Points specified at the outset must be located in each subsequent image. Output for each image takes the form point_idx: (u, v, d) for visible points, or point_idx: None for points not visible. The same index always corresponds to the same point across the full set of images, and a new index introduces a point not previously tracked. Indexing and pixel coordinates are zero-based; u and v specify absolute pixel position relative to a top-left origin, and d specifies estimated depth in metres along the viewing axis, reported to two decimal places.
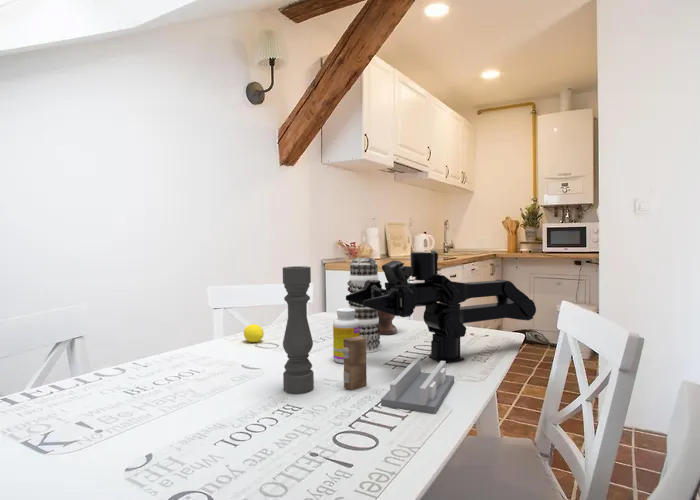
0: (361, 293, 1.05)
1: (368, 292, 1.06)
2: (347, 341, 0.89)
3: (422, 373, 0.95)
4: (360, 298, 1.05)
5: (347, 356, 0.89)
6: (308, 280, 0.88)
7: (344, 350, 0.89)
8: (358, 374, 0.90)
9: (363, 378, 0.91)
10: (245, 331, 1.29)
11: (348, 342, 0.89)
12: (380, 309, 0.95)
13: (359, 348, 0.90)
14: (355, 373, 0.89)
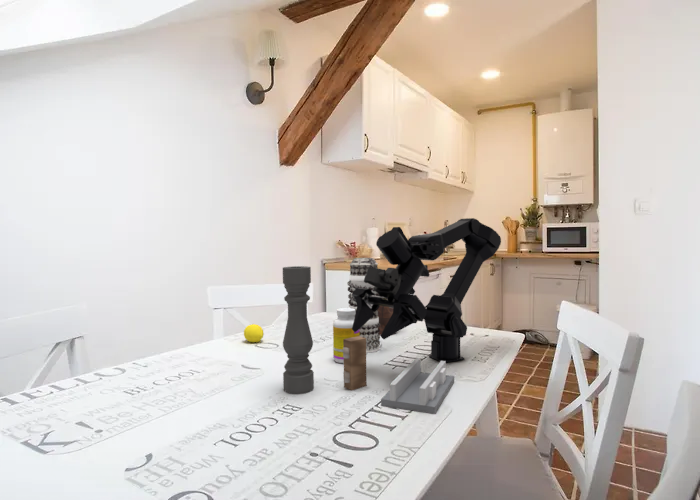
0: (361, 313, 0.98)
1: (365, 306, 0.99)
2: (347, 341, 0.89)
3: (422, 373, 0.95)
4: (363, 317, 0.99)
5: (347, 356, 0.89)
6: (308, 280, 0.88)
7: (344, 350, 0.89)
8: (358, 374, 0.90)
9: (363, 378, 0.91)
10: (245, 331, 1.29)
11: (348, 342, 0.89)
12: (398, 329, 0.91)
13: (359, 348, 0.90)
14: (355, 373, 0.89)
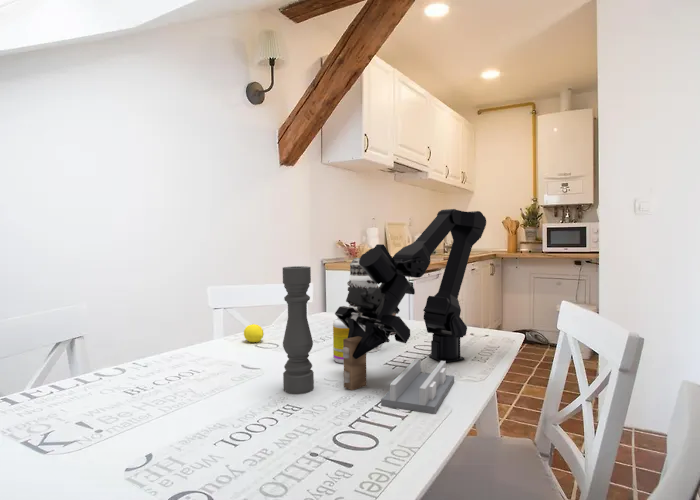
0: (353, 336, 0.93)
1: (357, 328, 0.94)
2: (347, 341, 0.89)
3: (422, 373, 0.95)
4: None
5: (347, 356, 0.89)
6: (308, 280, 0.88)
7: (344, 350, 0.89)
8: (358, 374, 0.90)
9: (363, 378, 0.91)
10: (245, 331, 1.29)
11: (348, 342, 0.89)
12: (371, 348, 0.90)
13: None
14: (355, 373, 0.89)
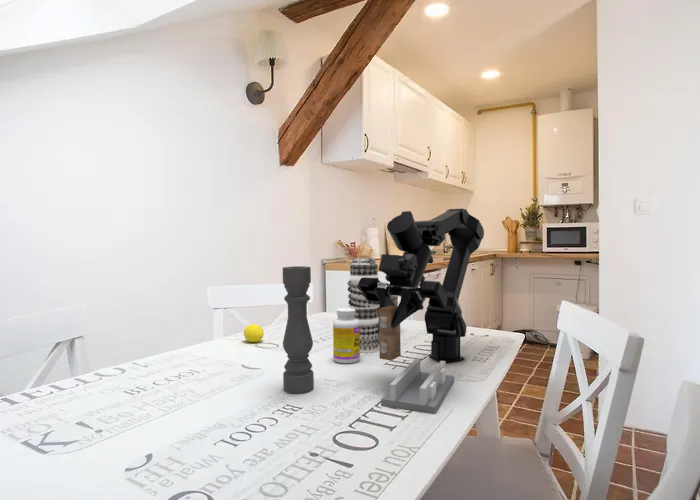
0: (385, 305, 0.89)
1: (387, 297, 0.90)
2: (384, 310, 0.86)
3: (422, 373, 0.95)
4: None
5: (385, 325, 0.85)
6: (308, 280, 0.88)
7: (382, 319, 0.85)
8: (394, 343, 0.87)
9: (398, 348, 0.88)
10: (245, 331, 1.29)
11: (385, 311, 0.86)
12: (406, 316, 0.88)
13: None
14: (392, 343, 0.86)
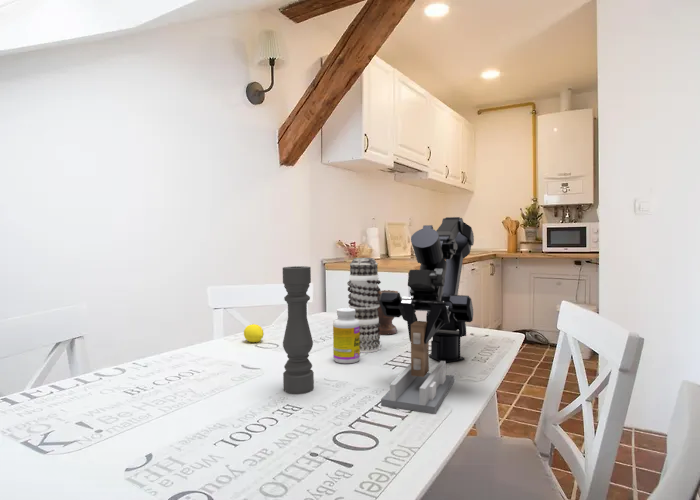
0: (413, 321, 0.88)
1: (413, 312, 0.89)
2: (417, 326, 0.85)
3: None
4: None
5: (419, 341, 0.84)
6: (308, 280, 0.88)
7: (416, 336, 0.84)
8: (426, 359, 0.86)
9: (427, 363, 0.87)
10: (245, 331, 1.29)
11: (418, 327, 0.85)
12: (435, 331, 0.88)
13: None
14: (424, 359, 0.85)
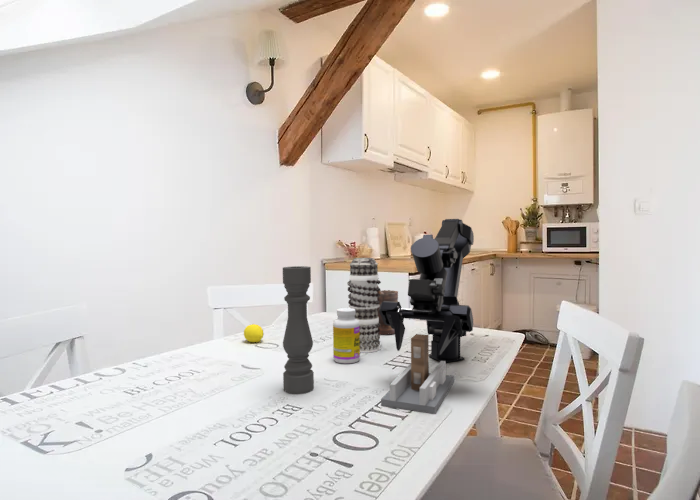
0: (400, 329, 0.89)
1: (401, 321, 0.91)
2: (417, 340, 0.85)
3: None
4: (400, 333, 0.90)
5: (419, 355, 0.84)
6: (308, 280, 0.88)
7: (416, 350, 0.84)
8: (426, 373, 0.86)
9: (427, 377, 0.87)
10: (245, 331, 1.29)
11: (418, 341, 0.85)
12: (449, 342, 0.86)
13: (426, 345, 0.86)
14: (425, 373, 0.85)
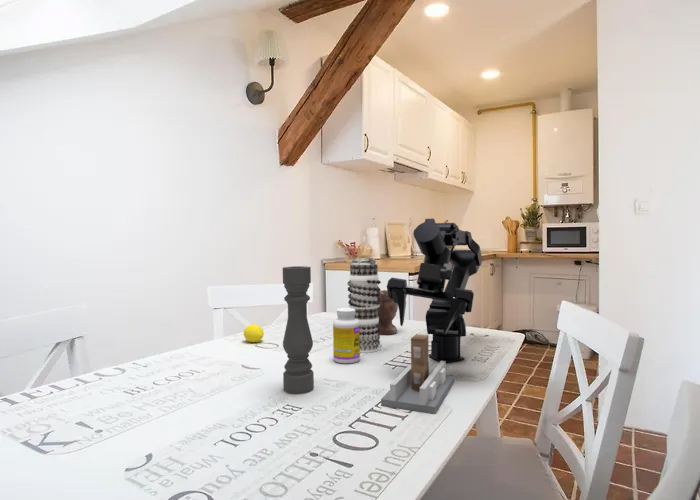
0: (404, 306, 0.96)
1: None
2: (417, 340, 0.85)
3: None
4: (403, 309, 0.97)
5: (419, 355, 0.84)
6: (308, 280, 0.88)
7: (416, 350, 0.84)
8: (426, 373, 0.86)
9: (427, 377, 0.87)
10: (245, 331, 1.29)
11: (418, 341, 0.85)
12: (452, 322, 0.95)
13: (426, 345, 0.86)
14: (425, 373, 0.85)
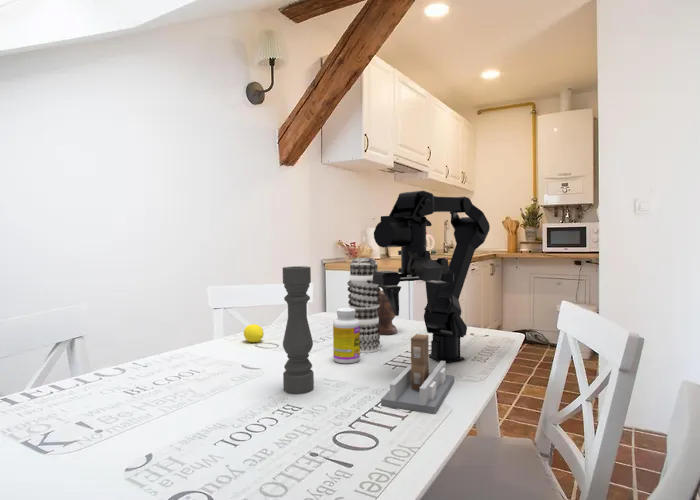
0: None
1: None
2: (417, 340, 0.85)
3: None
4: None
5: (419, 355, 0.84)
6: (308, 280, 0.88)
7: (416, 350, 0.84)
8: (426, 373, 0.86)
9: (427, 377, 0.87)
10: (245, 331, 1.29)
11: (418, 341, 0.85)
12: None
13: (426, 345, 0.86)
14: (425, 373, 0.85)
